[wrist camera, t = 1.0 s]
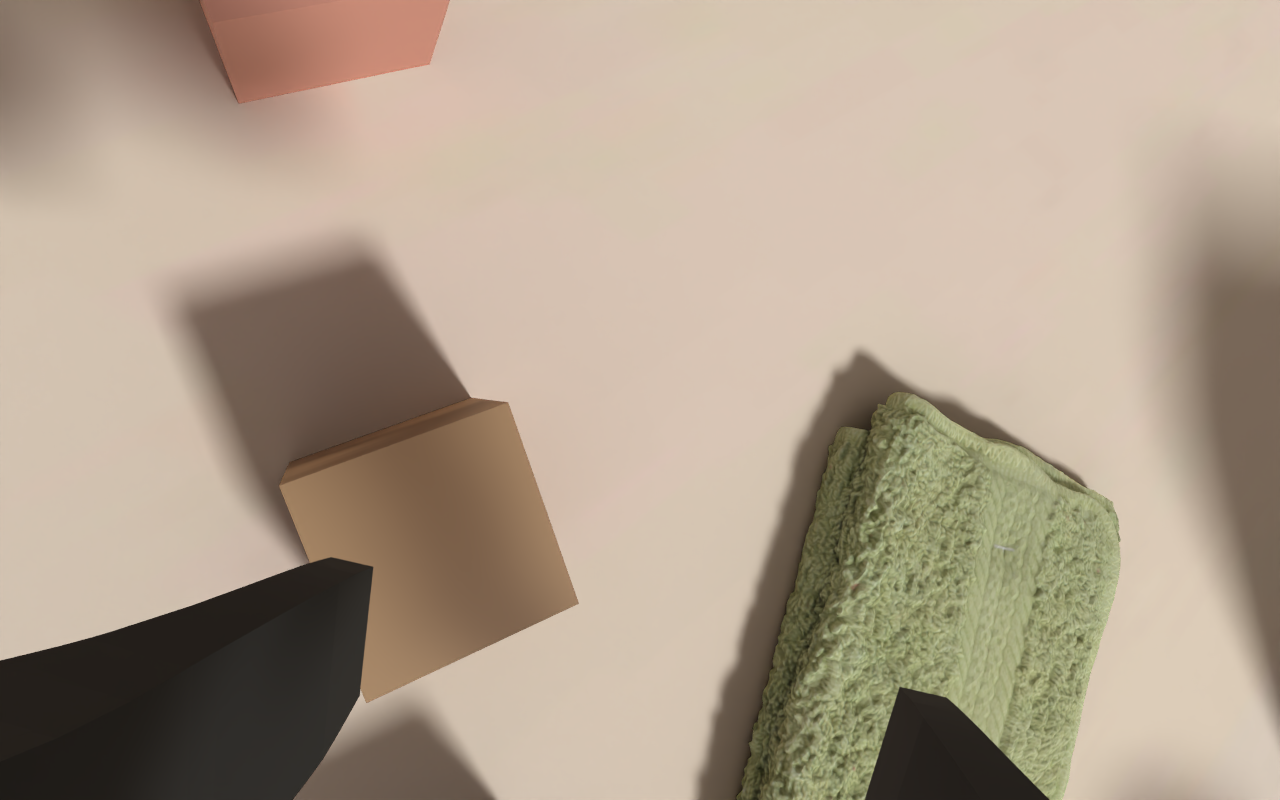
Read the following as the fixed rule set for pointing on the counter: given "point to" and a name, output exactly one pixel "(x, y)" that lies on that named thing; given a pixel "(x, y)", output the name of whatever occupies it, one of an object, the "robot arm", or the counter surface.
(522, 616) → the walnut block
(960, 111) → the counter surface
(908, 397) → the washcloth
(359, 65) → the brick red block
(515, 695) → the counter surface
